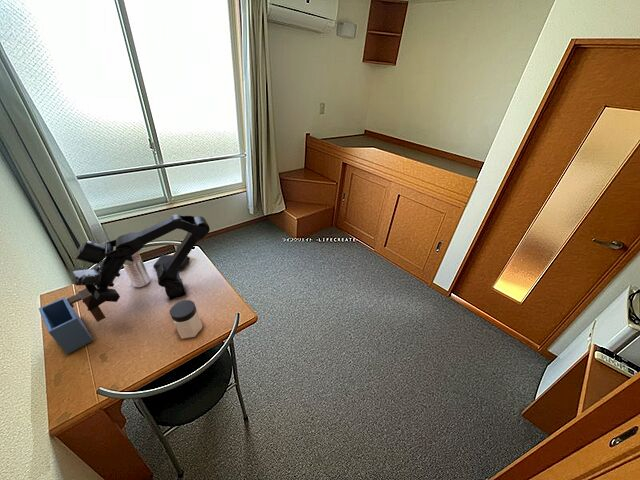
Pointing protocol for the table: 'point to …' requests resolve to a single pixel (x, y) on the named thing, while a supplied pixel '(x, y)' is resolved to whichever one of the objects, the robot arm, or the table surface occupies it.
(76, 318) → the storage box
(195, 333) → the jar
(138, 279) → the water bottle
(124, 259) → the robot arm
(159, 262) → the carrying case
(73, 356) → the table surface
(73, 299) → the hook tag
